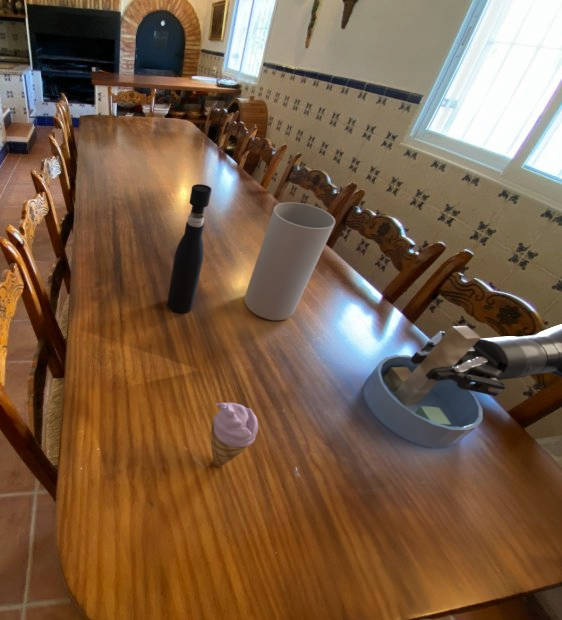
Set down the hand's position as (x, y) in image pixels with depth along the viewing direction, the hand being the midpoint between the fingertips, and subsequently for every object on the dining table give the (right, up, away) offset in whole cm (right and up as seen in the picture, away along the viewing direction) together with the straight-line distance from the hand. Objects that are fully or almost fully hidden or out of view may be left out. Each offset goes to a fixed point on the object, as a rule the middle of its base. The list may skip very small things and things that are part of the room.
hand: (422, 366), depth 62 cm
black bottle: (-39, +11, +27) cm, 49 cm away
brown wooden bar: (+2, -8, +7) cm, 10 cm away
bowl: (+4, -9, +8) cm, 13 cm away
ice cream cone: (-36, -15, -3) cm, 39 cm away
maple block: (+4, -6, +11) cm, 13 cm away
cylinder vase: (-16, +11, +30) cm, 35 cm away
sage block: (+4, -12, +4) cm, 13 cm away
